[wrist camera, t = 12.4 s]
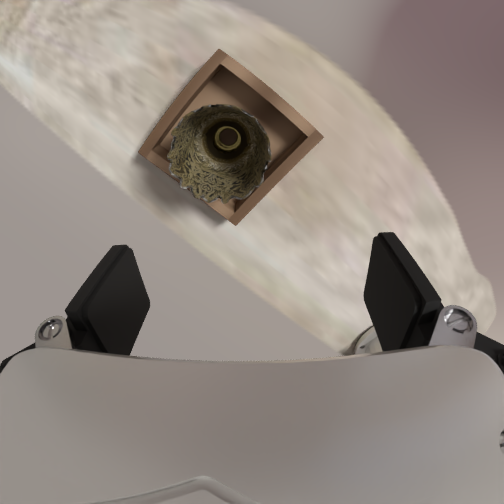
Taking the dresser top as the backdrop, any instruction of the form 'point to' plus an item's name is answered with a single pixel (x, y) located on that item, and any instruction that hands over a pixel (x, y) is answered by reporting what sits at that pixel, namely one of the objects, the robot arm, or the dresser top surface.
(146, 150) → the box
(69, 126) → the dresser top surface
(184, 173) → the olive round vessel
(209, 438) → the robot arm
